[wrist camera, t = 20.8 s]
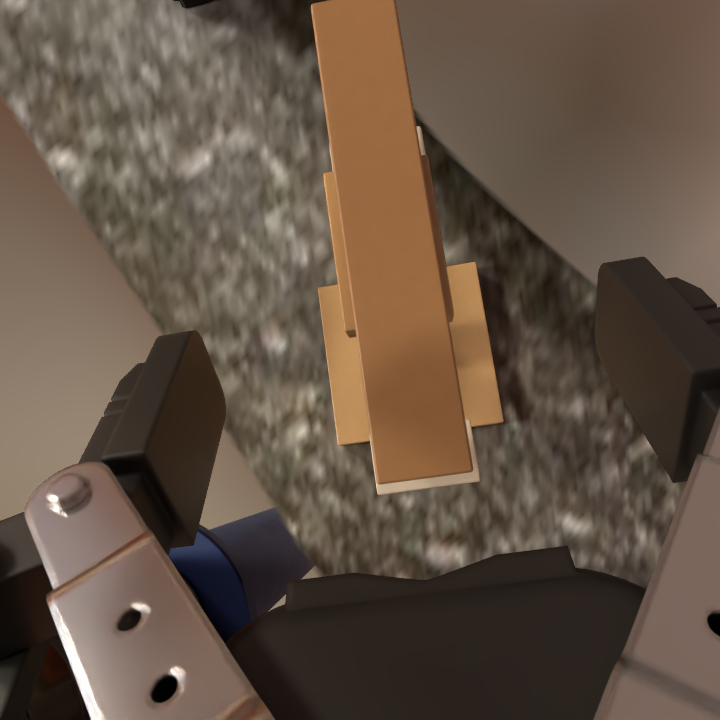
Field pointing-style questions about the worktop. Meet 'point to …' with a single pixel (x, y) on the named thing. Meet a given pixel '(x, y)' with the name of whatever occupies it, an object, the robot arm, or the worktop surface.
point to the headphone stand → (464, 328)
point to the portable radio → (191, 2)
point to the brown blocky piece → (391, 251)
